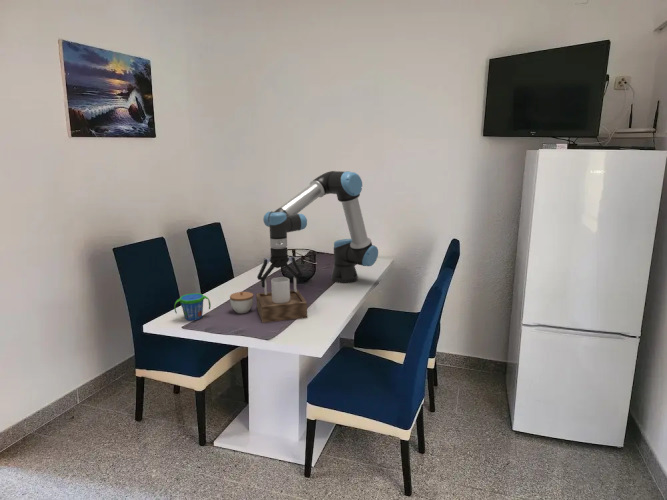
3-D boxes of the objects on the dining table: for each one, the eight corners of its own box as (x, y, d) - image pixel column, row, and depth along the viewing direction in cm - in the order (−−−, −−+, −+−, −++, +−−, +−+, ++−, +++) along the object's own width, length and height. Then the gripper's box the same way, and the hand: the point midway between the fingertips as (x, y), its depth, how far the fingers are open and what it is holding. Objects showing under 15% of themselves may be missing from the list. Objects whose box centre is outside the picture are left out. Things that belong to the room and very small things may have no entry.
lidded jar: (228, 309, 228) (227, 290, 226) (250, 306, 232) (249, 287, 230) (233, 316, 219) (232, 296, 217) (256, 312, 223) (255, 293, 221)
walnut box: (298, 303, 235) (297, 289, 233) (307, 317, 216) (306, 302, 214) (256, 308, 229) (256, 293, 228) (262, 322, 210) (261, 307, 209)
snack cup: (174, 324, 210) (172, 301, 208) (176, 316, 220) (174, 294, 218) (211, 320, 214) (209, 298, 212) (211, 312, 224) (209, 291, 222)
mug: (280, 295, 228) (280, 274, 226) (296, 297, 226) (296, 275, 223) (268, 303, 218) (267, 281, 215) (285, 305, 215) (284, 282, 212)
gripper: (251, 250, 209) (254, 297, 214) (307, 246, 216) (309, 292, 220) (249, 247, 216) (252, 292, 221) (304, 243, 223) (305, 287, 227)
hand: (280, 292), depth 220 cm, fingers open, 13 cm apart
